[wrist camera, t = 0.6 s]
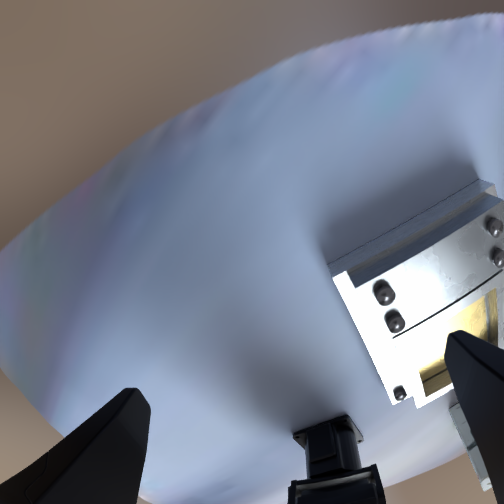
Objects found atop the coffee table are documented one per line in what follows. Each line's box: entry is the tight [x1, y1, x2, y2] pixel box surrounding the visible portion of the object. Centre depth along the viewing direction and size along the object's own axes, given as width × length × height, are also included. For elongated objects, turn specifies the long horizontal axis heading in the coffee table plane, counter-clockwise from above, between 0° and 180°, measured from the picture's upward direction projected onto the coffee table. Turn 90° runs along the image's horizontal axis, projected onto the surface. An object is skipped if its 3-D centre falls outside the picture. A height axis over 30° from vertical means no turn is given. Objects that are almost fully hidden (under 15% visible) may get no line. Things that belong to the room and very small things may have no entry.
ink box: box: [449, 403, 492, 491], centre depth 23 cm, size 9×5×12 cm, turn 39°
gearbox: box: [327, 179, 504, 408], centre depth 20 cm, size 16×14×5 cm
